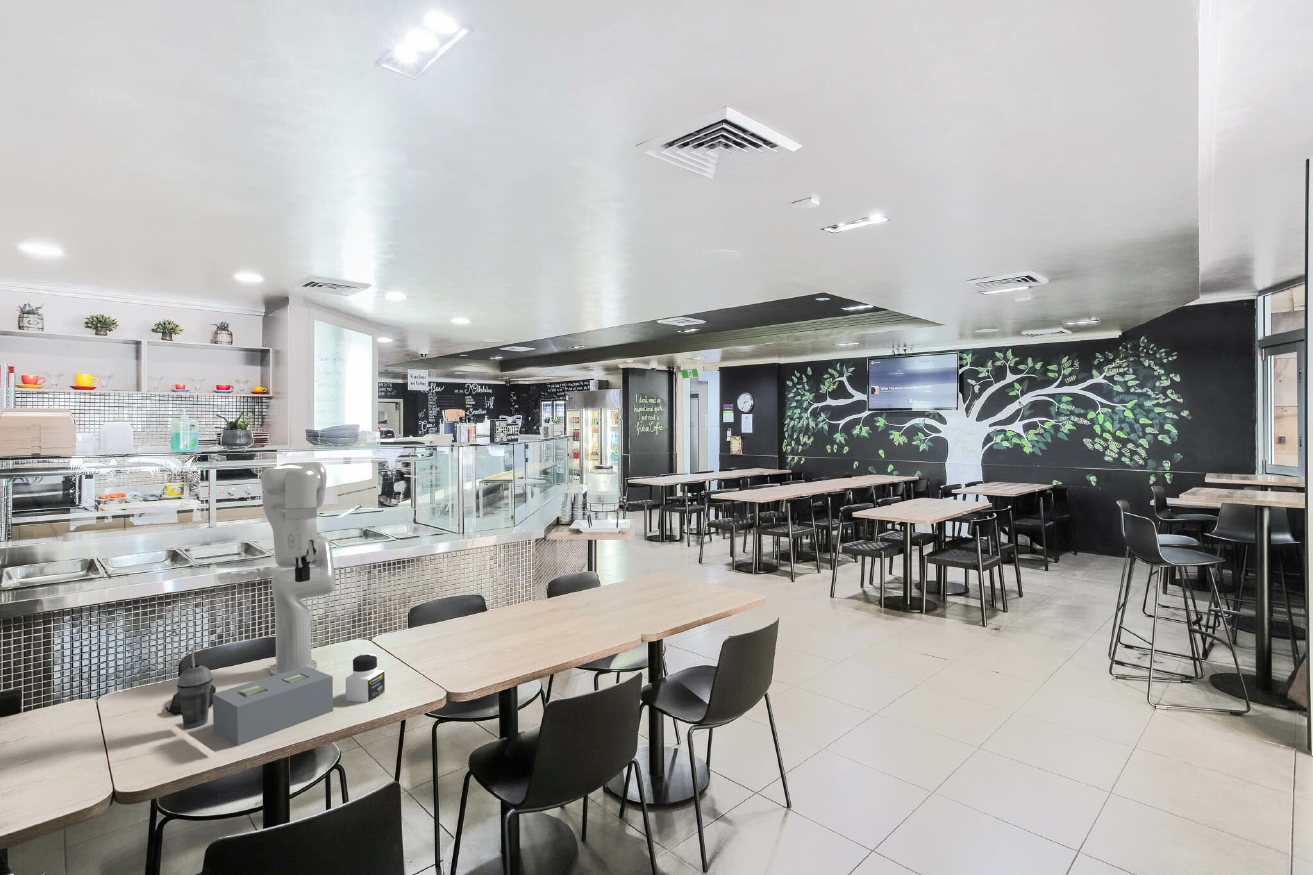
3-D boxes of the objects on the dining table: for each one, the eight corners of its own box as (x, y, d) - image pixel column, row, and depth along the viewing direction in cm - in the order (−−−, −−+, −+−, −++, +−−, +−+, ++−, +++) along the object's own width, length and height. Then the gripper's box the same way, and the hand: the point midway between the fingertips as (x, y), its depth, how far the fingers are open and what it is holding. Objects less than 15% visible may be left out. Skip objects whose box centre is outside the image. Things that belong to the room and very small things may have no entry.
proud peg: (240, 727, 152) (239, 691, 153) (258, 721, 156) (257, 685, 156) (247, 731, 150) (247, 694, 150) (265, 725, 153) (265, 689, 153)
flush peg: (284, 714, 161) (283, 679, 161) (300, 708, 164) (299, 674, 164) (291, 717, 158) (290, 682, 158) (307, 712, 162) (307, 677, 162)
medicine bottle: (368, 705, 167) (367, 661, 167) (345, 704, 169) (344, 659, 169) (385, 695, 174) (384, 652, 174) (362, 693, 176) (362, 650, 176)
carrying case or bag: (169, 700, 174) (163, 720, 162) (169, 689, 174) (163, 708, 162) (216, 691, 180) (213, 709, 168) (216, 681, 180) (213, 698, 168)
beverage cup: (185, 737, 151) (183, 655, 151) (172, 730, 155) (170, 650, 155) (219, 725, 157) (217, 646, 157) (205, 719, 161) (204, 641, 161)
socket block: (213, 734, 152) (212, 693, 152) (306, 702, 170) (306, 665, 170) (238, 750, 144) (237, 706, 144) (333, 714, 162) (332, 676, 162)
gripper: (274, 514, 172) (275, 580, 172) (300, 517, 163) (301, 587, 163) (302, 511, 178) (303, 575, 178) (329, 514, 170) (330, 581, 170)
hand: (302, 580), depth 171 cm, fingers closed
